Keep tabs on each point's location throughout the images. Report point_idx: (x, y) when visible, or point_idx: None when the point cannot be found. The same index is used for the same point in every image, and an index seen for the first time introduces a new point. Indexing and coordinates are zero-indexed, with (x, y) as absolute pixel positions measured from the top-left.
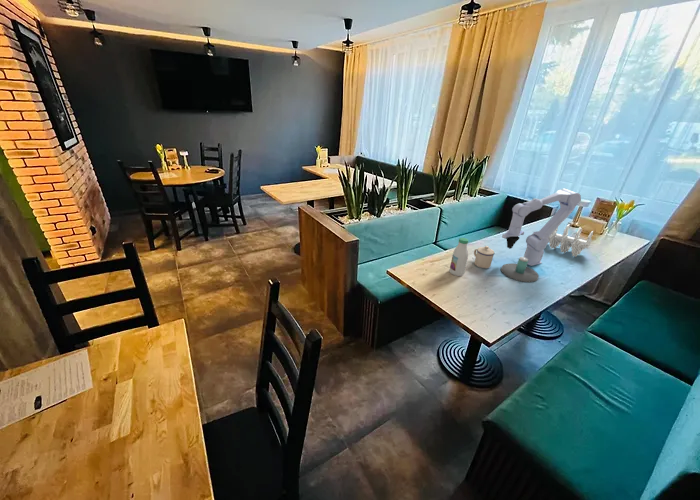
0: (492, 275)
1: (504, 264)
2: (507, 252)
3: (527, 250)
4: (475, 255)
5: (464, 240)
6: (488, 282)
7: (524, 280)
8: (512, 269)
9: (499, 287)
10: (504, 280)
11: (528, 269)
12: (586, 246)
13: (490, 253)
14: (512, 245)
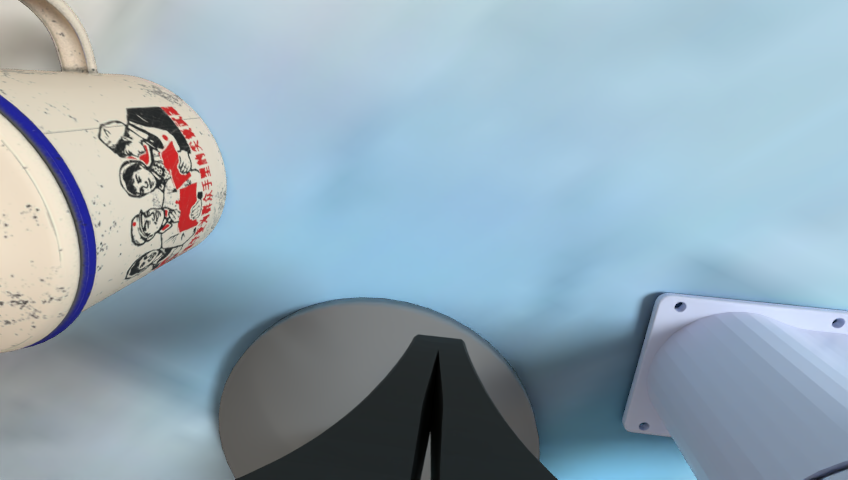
0: (110, 353)
1: (354, 307)
2: (770, 75)
3: (747, 471)
4: (70, 18)
5: None
6: (8, 400)
7: None
8: (345, 401)
9: (52, 471)
10: (158, 440)
11: None
12: None
13: None
14: (431, 468)
